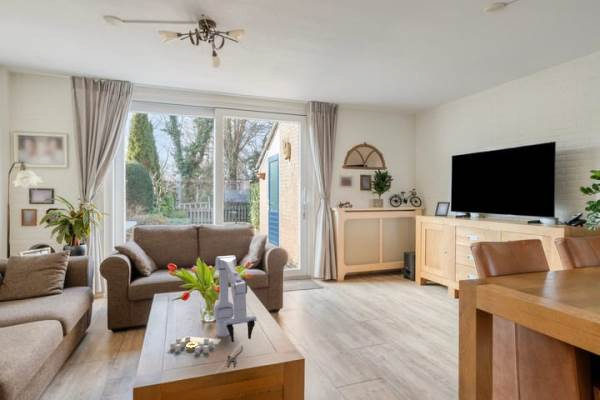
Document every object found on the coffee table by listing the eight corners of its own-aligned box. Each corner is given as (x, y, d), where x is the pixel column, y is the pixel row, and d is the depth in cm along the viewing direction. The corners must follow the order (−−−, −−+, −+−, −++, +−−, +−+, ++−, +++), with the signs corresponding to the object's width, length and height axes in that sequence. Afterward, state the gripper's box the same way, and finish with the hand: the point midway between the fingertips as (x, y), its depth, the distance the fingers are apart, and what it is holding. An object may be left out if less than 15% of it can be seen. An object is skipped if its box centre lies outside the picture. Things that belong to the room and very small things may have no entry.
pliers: (241, 343, 164) (249, 363, 145) (241, 345, 164) (249, 365, 145) (221, 346, 160) (227, 367, 142) (221, 348, 160) (227, 369, 142)
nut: (183, 350, 154) (183, 346, 154) (189, 345, 159) (189, 341, 159) (194, 351, 153) (195, 347, 153) (200, 346, 158) (200, 342, 158)
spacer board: (185, 338, 170) (185, 330, 170) (221, 341, 166) (221, 333, 166) (165, 355, 152) (165, 346, 152) (205, 359, 149) (205, 350, 149)
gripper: (225, 312, 141) (226, 345, 139) (257, 308, 147) (259, 339, 145) (222, 310, 147) (223, 341, 146) (253, 305, 153) (254, 335, 151)
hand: (241, 340), depth 146 cm, fingers open, 7 cm apart
